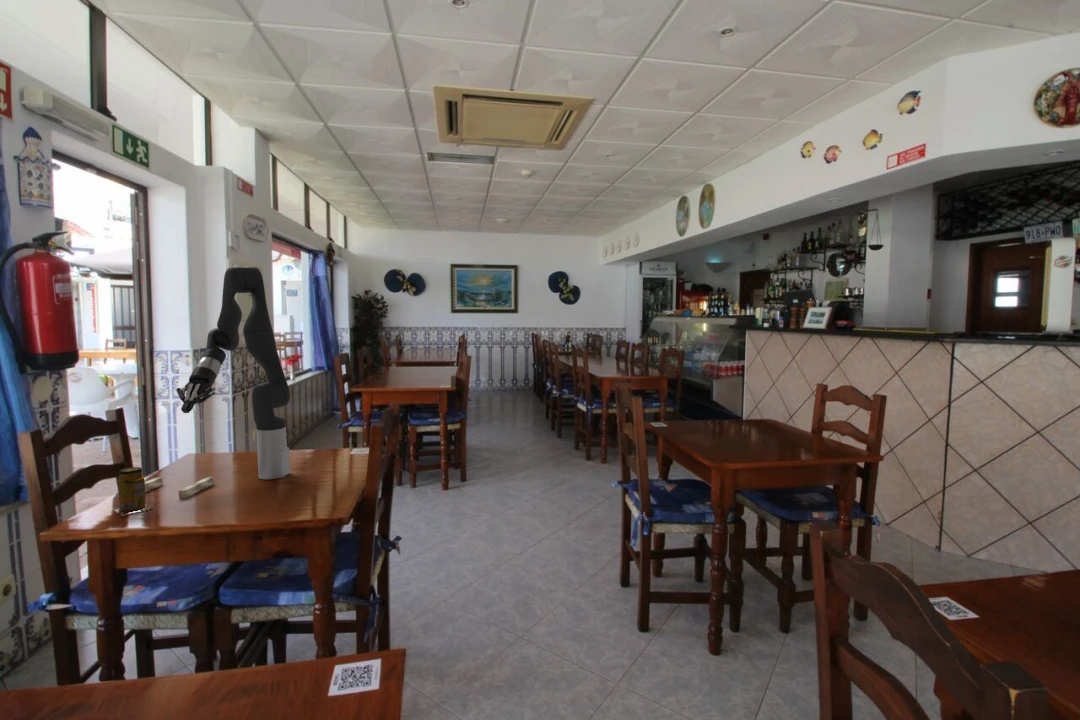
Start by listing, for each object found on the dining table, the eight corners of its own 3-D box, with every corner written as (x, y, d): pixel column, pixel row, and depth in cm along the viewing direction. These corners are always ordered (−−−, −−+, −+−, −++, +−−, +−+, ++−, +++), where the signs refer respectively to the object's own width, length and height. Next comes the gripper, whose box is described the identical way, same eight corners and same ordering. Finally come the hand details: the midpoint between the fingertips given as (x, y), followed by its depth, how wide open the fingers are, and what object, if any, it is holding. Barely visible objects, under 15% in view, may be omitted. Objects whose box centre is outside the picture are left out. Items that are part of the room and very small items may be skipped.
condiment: (143, 503, 155) (141, 464, 154) (153, 509, 150) (150, 469, 149) (113, 510, 149) (110, 470, 148) (122, 517, 144) (119, 475, 143)
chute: (156, 484, 173) (156, 477, 172) (213, 484, 173) (213, 477, 173) (123, 499, 159) (123, 491, 158) (185, 498, 159) (185, 490, 159)
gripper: (182, 366, 184) (159, 405, 173) (219, 365, 184) (199, 405, 173) (192, 379, 190) (171, 418, 178) (228, 378, 190) (209, 417, 179)
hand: (185, 411), depth 176 cm, fingers closed
